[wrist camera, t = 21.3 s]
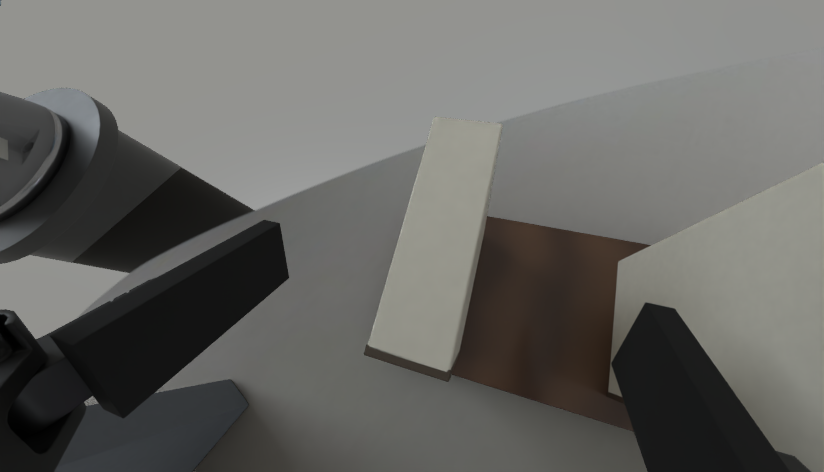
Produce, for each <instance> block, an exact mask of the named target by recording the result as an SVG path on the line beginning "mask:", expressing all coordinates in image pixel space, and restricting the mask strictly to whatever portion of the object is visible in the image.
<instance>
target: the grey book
mask: <svg viewBox="0 0 824 472" xmlns="http://www.w3.org/2000/svg"><path fill="white" fill-rule="evenodd" d="M248 405H249V404H248V402H247V401H246V400H245V398H244V397H243V396H242V394H241V393H240V392H239V390H238V389H237V388H236V386H235V385H234V384H233V382H232V381H231V380H230V379H228V380H223V381H217V382H212V383H207V384H201V385H196V386H191V387H185V388H180V389H175V390H169V391H164V392H159V393H153V394H152V395H151V396H150V397H149V398H148V399H146V400H145V401H144V402H143V403H142V404H141V405H139V406H138V407H137V408H136V409H135V410H134V411H132V412H131V413H130V414H129V415H128V416H126V417H125V418H124V419H123V418H121V417H119V416H117V415H114V414H112V413H110V412H108V411H106V410H104V409H103V408H102V407H101V405H100V404H94V405H89V406H86V407H87V408H86V411H85V415H84V417H83V419H82V421H81V423H80V424H79V426H78V428H77V430H76V432H75V434H74V436H73V438H72V439H71V441H70V443H69V445H68V447H67V449H66V451H65V453H64V454H63V456H62V458H61V460H60V462H59V464H58V466H57V468H56V469H55V471H54V472H192V471H193V470H194V469H195V468H196V466H197V465H198V464H199V463H200V462H201V461H202V459H203V458H204V457H205V456H206V455H207V453H208V452H209V451H210V450H211V449H212V448H213V446H214V445H215V444H216V443H217V442H218V441H219V439H220V438H221V437H222V436H223V435H224V433H225V432H226V431H227V430H228V429H229V428H230V426H231V425H232V424H233V423H234V422H235V421H236V419H237V418H238V417H239V416H240V415H241V413H242V412H243V411H244V410H245V409H246V408H247V406H248Z"/></svg>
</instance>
